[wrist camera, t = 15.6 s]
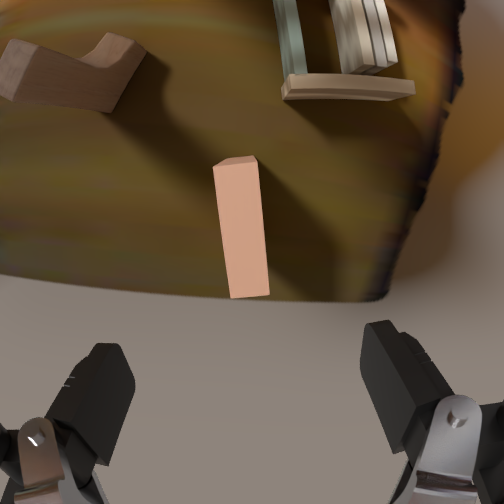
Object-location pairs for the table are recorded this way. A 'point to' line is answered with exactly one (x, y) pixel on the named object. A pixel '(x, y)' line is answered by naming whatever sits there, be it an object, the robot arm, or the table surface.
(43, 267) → the table surface
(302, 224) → the table surface
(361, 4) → the offcut rack
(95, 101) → the wooden block
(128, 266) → the table surface
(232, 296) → the pink rectangular block
